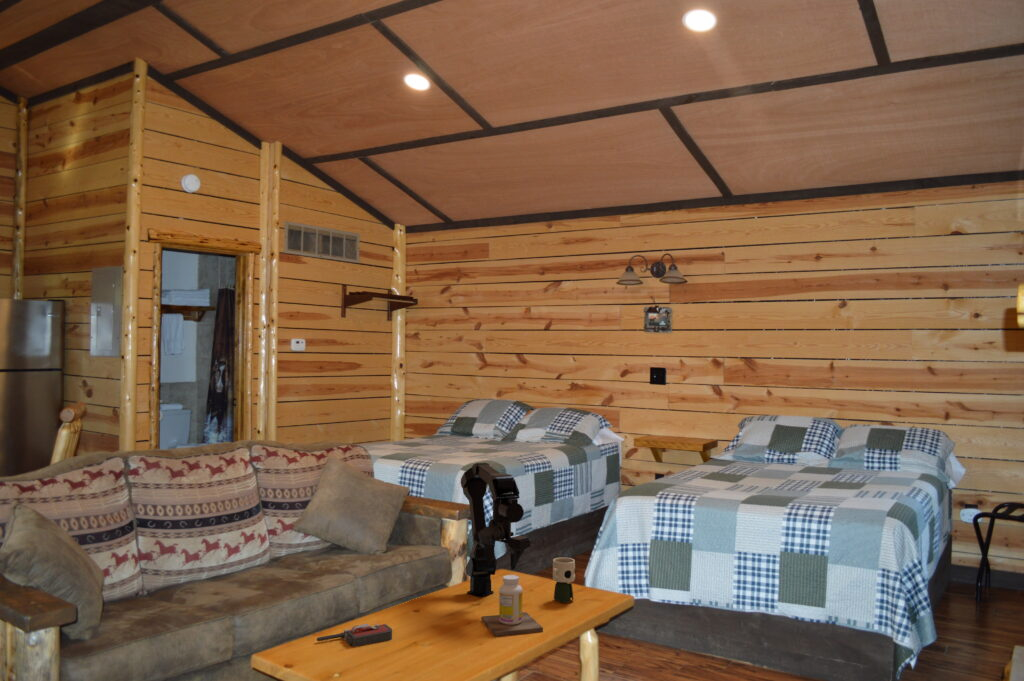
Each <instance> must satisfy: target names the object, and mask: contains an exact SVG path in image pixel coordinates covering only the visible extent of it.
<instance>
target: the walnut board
mask: <svg viewBox="0 0 1024 681" xmlns="http://www.w3.org/2000/svg"><path fill="white" fill-rule="evenodd" d="M480 619H481V622H482V623H483V624H484V626H485V627H486V628H487V629H488V630H489V631H490V632H491V633H492V634H493V636H494V637H495V638H499V637H507V636H515V635H516V636H517V635H528V634H536V633H543V632H544V628H543V626H542V625H541V624H540V623H539V622H537V620H535V619H534V618H533V617H532V616H531V615H530V614H529V613H528V612H527V611H526V612H525V611H524V612H523V611H522V622H521V623H519V624H515V625H506V624H503V623H501V622H500V620H499V614H494V615H493V614H492V615H485V616H481V618H480Z"/></svg>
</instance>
